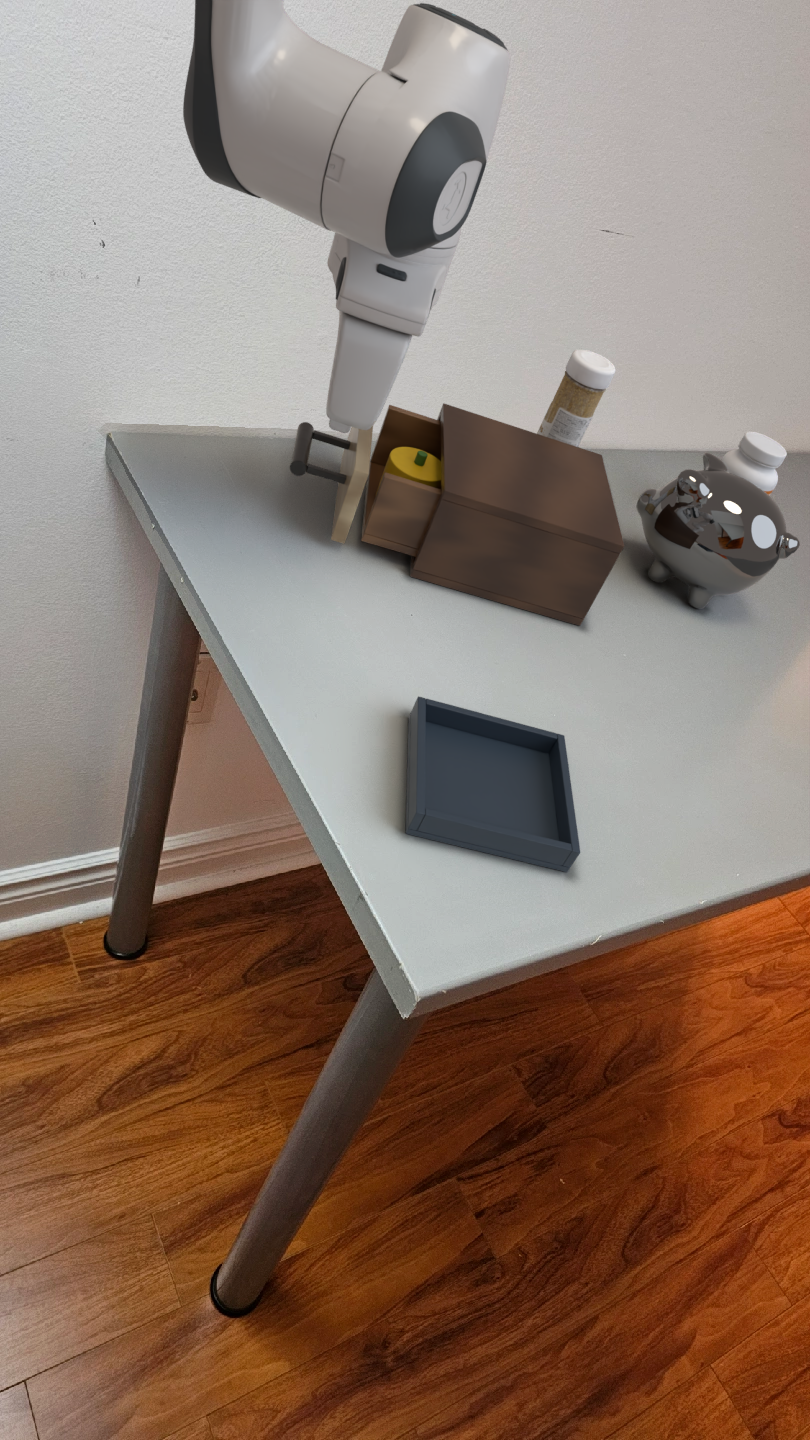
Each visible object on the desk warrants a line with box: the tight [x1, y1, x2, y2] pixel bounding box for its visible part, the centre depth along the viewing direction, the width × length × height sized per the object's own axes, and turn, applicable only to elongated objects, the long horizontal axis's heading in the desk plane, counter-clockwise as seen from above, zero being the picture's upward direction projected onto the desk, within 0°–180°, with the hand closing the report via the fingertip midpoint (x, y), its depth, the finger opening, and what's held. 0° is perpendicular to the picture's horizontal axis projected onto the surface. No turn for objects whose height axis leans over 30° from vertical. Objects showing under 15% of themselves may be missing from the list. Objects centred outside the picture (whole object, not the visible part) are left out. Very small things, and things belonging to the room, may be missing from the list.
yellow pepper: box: [376, 447, 441, 495], centre depth 91 cm, size 5×5×5 cm
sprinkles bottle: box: [536, 348, 616, 447], centre depth 105 cm, size 5×5×14 cm
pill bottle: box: [720, 430, 788, 497], centre depth 110 cm, size 6×6×11 cm
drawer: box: [289, 404, 442, 557], centre depth 91 cm, size 19×14×7 cm
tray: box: [405, 695, 581, 873], centre depth 72 cm, size 11×11×2 cm
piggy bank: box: [635, 452, 801, 610], centre depth 100 cm, size 11×15×12 cm
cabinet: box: [409, 402, 625, 626], centre depth 93 cm, size 16×16×9 cm
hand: (339, 423), depth 88 cm, fingers closed
